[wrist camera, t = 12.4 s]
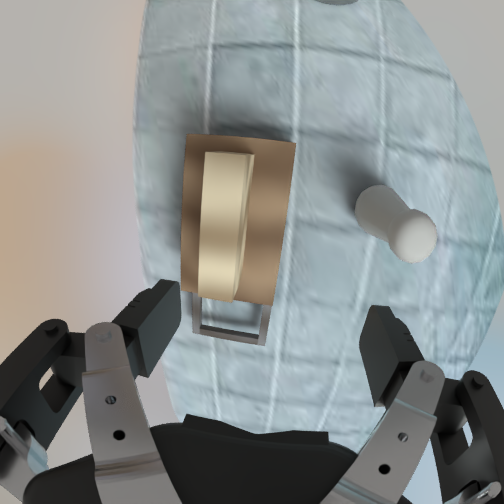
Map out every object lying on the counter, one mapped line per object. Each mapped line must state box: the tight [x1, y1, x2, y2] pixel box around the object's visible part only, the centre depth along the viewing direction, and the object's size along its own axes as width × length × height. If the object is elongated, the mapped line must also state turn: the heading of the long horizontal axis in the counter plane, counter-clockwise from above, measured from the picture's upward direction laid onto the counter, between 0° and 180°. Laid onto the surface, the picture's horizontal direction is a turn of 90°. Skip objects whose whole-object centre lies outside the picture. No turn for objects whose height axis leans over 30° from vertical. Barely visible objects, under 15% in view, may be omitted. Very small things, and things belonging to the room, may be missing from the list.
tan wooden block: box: [181, 134, 296, 346], centre depth 28 cm, size 25×10×10 cm, turn 174°
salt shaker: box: [355, 185, 437, 264], centre depth 24 cm, size 6×6×13 cm
